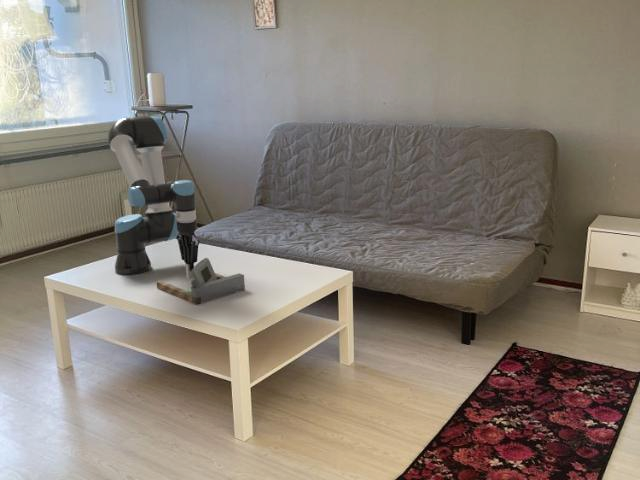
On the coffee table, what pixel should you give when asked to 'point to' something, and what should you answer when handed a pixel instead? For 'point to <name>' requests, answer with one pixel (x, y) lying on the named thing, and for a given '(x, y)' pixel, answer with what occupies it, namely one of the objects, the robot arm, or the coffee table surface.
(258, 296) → the coffee table surface
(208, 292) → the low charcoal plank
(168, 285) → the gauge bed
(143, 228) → the robot arm
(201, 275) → the digital clock
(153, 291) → the coffee table surface
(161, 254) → the coffee table surface
